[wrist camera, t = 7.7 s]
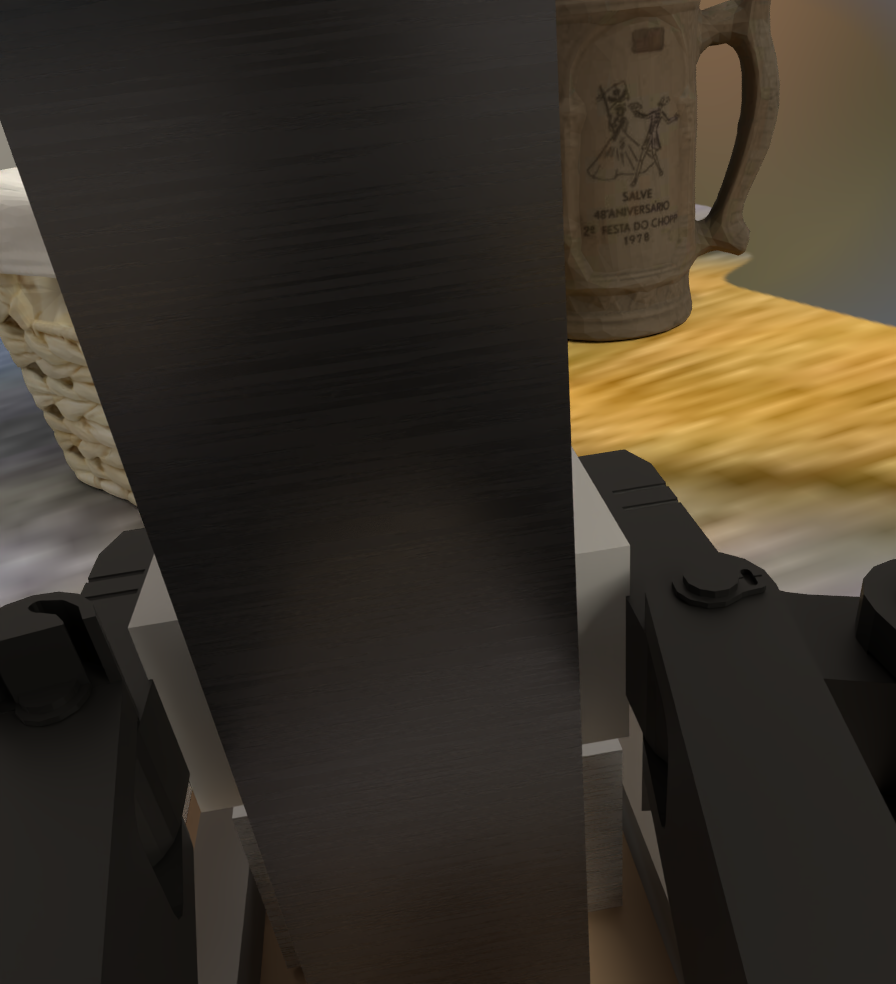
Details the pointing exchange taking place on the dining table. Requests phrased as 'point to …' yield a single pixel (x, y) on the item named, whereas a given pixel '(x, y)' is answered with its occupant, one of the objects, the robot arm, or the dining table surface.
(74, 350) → the storage basket
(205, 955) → the base
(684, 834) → the robot arm
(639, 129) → the beer stein
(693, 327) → the dining table surface
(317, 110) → the handle
